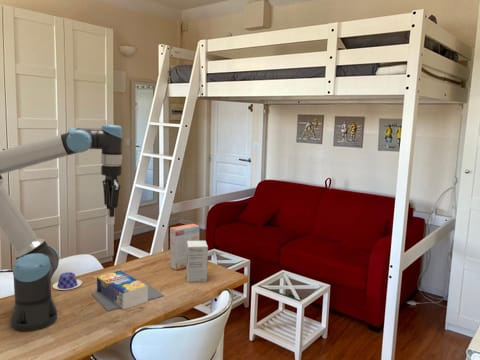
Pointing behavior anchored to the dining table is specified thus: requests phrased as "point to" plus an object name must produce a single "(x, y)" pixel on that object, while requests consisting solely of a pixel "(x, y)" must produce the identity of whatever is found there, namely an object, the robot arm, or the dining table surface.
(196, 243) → the supplement box
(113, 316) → the dining table surface
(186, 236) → the cracker box
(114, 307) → the mat
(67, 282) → the pudding
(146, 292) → the beverage box
